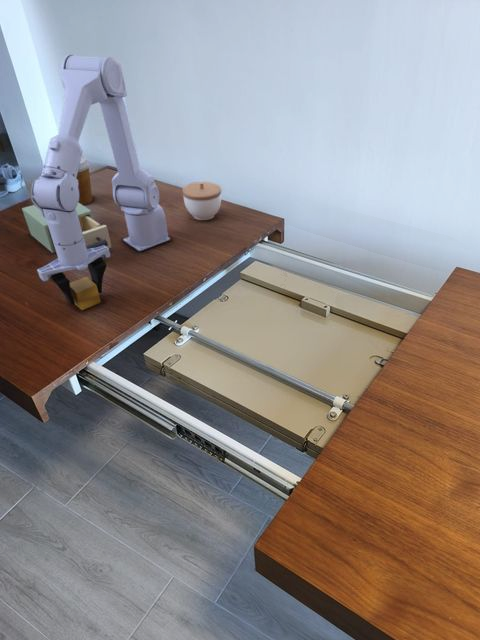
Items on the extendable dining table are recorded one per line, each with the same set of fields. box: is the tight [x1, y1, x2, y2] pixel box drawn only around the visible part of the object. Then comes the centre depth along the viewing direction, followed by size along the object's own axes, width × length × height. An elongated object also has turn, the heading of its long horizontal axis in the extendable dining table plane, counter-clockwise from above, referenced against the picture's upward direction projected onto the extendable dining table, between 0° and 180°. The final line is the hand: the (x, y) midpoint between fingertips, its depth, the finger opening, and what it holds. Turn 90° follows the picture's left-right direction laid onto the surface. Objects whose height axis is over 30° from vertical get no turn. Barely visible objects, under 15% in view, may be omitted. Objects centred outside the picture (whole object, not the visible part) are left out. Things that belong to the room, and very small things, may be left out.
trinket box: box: [181, 181, 222, 221], centre depth 132 cm, size 11×11×9 cm
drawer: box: [48, 215, 112, 249], centre depth 116 cm, size 17×11×6 cm
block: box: [70, 276, 102, 311], centre depth 101 cm, size 4×4×4 cm
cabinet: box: [21, 202, 94, 254], centre depth 122 cm, size 13×12×7 cm
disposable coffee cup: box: [76, 155, 93, 206], centre depth 138 cm, size 10×10×12 cm
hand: (85, 296), depth 101 cm, fingers open, 6 cm apart
